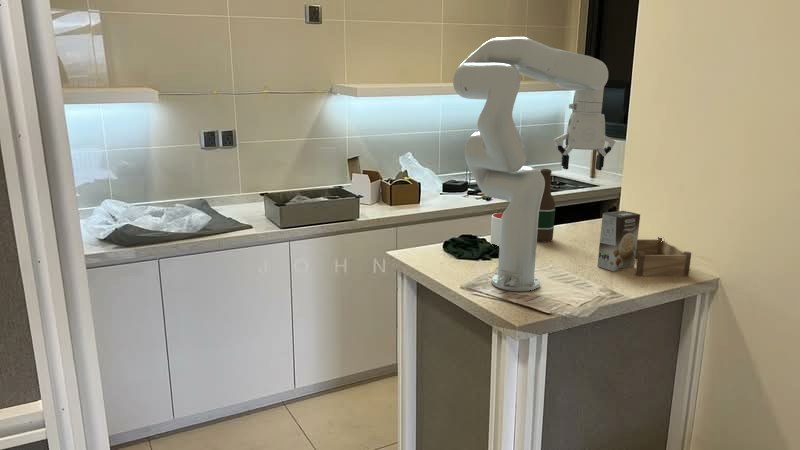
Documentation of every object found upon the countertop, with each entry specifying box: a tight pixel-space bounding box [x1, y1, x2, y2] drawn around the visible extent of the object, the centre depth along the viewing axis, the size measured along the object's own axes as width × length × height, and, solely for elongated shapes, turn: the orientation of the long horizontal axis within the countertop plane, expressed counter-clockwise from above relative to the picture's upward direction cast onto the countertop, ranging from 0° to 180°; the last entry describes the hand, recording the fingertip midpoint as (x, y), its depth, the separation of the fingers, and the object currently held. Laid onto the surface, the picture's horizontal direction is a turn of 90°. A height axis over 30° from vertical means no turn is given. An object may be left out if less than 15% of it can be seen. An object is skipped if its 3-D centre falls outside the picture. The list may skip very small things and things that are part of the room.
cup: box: [490, 212, 504, 246], centre depth 204 cm, size 10×10×10 cm
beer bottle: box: [537, 168, 556, 243], centre depth 211 cm, size 8×8×24 cm
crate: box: [635, 236, 692, 277], centre depth 185 cm, size 18×15×7 cm
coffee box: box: [597, 210, 641, 272], centre depth 183 cm, size 9×6×16 cm
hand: (581, 169), depth 181 cm, fingers open, 9 cm apart
